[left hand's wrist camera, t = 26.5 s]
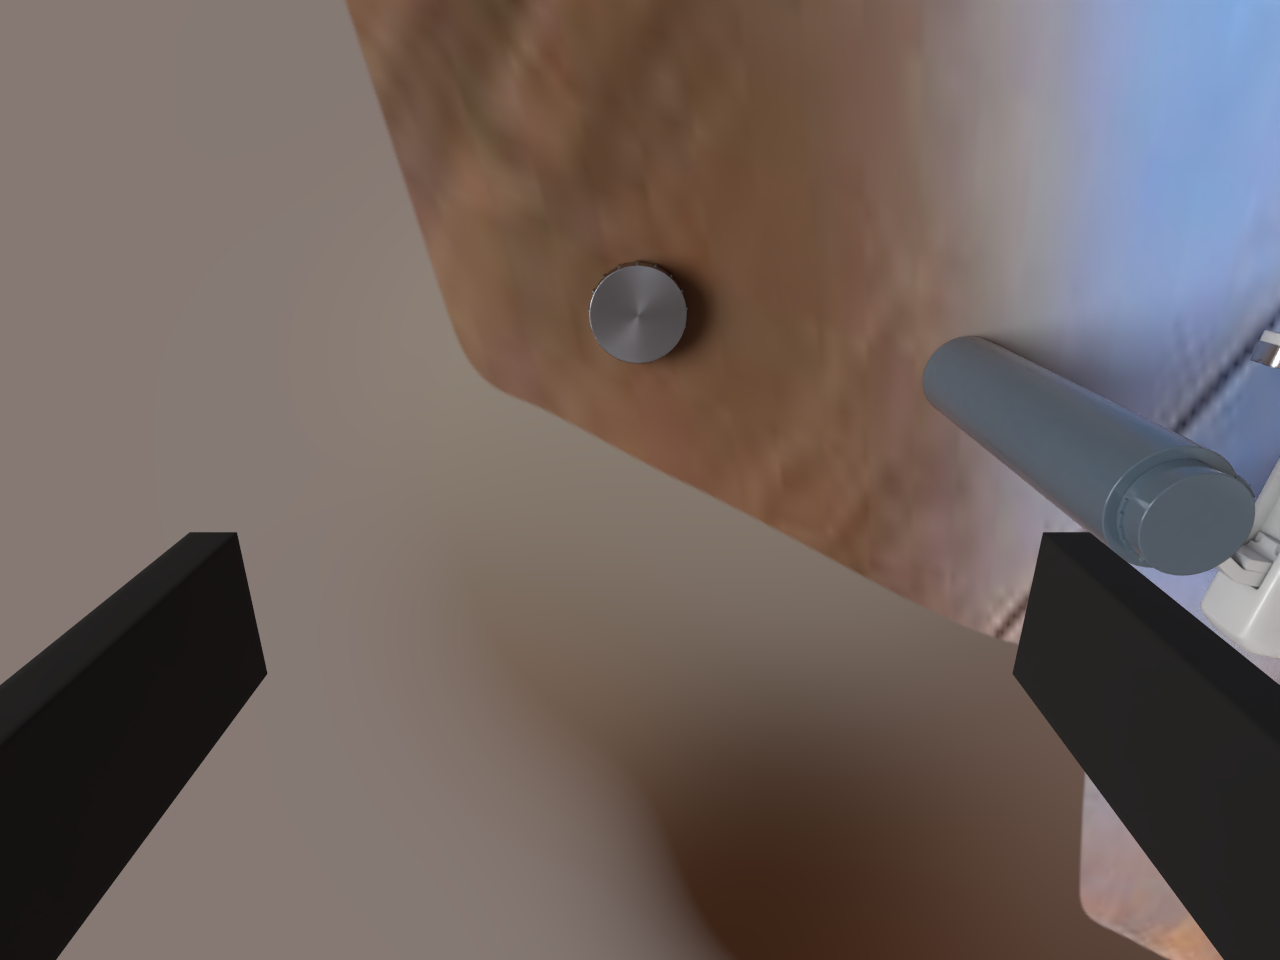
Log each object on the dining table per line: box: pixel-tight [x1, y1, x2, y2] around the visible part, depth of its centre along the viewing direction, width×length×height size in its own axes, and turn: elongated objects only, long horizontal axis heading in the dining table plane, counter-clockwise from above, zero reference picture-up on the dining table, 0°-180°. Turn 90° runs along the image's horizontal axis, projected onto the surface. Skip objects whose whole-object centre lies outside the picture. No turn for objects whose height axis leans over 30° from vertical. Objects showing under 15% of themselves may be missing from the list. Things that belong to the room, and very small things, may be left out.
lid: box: [588, 260, 688, 364], centre depth 40 cm, size 5×5×2 cm
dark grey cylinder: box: [923, 336, 1255, 575], centre depth 34 cm, size 4×4×19 cm
